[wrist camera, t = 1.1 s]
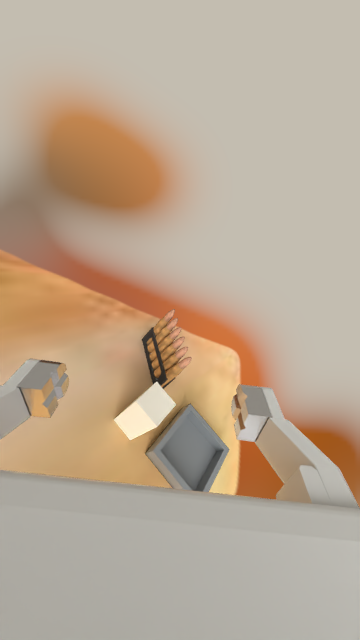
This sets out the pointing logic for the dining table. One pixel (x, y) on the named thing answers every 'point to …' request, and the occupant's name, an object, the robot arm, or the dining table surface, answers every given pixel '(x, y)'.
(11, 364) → the dining table surface
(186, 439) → the box
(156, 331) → the ammunition clip
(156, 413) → the cream block
